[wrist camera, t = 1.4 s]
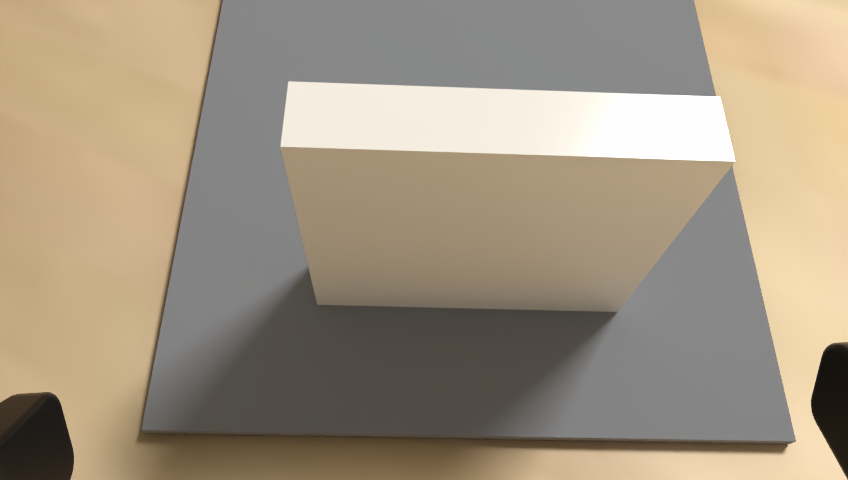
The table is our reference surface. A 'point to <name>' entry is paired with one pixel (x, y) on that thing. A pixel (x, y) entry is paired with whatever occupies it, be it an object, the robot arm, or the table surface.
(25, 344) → the table surface
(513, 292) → the tile
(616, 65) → the mat
